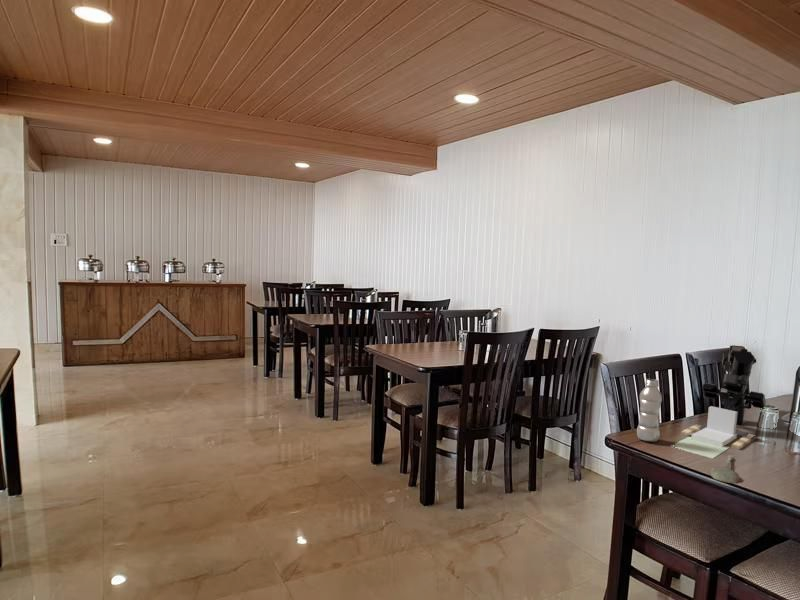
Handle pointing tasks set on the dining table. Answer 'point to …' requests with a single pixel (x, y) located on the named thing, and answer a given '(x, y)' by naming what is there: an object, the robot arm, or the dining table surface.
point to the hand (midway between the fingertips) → (726, 414)
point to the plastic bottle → (649, 411)
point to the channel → (736, 445)
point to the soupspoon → (725, 472)
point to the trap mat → (739, 433)
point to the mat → (700, 447)
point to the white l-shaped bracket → (718, 427)
